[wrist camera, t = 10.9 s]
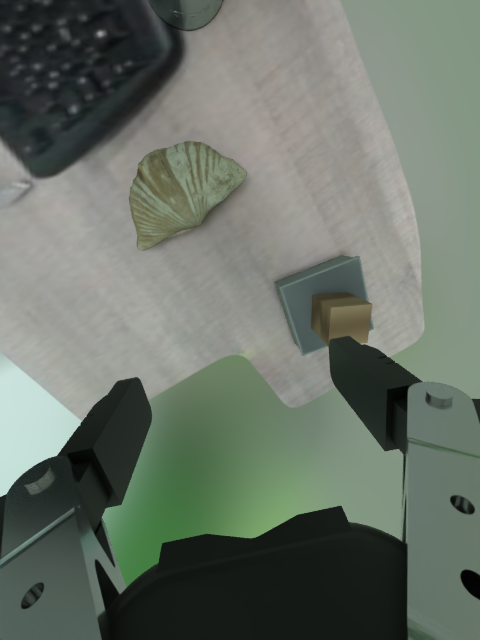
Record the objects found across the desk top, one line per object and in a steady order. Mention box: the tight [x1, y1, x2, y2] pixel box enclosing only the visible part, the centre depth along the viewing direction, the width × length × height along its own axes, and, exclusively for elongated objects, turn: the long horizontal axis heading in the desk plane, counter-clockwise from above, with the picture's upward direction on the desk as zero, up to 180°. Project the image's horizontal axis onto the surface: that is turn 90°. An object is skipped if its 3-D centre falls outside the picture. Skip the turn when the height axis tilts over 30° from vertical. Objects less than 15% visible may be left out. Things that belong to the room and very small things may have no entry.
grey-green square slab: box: [275, 256, 374, 356], centre depth 37 cm, size 11×11×5 cm
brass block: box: [311, 292, 372, 346], centre depth 32 cm, size 5×5×6 cm
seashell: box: [129, 141, 247, 251], centre depth 30 cm, size 14×9×10 cm
